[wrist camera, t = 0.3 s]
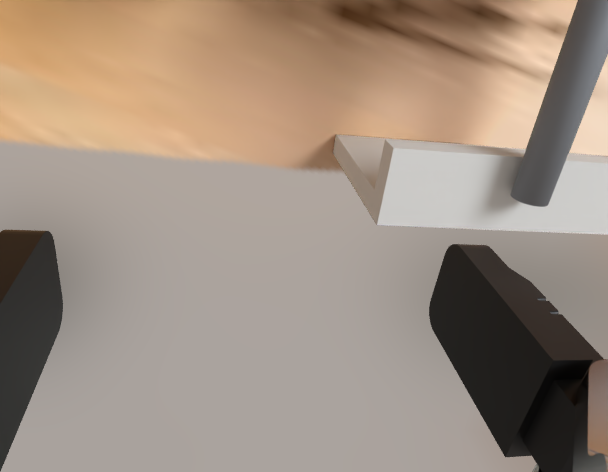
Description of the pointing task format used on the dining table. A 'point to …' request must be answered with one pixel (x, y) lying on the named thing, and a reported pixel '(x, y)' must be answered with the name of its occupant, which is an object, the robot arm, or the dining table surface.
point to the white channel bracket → (498, 160)
